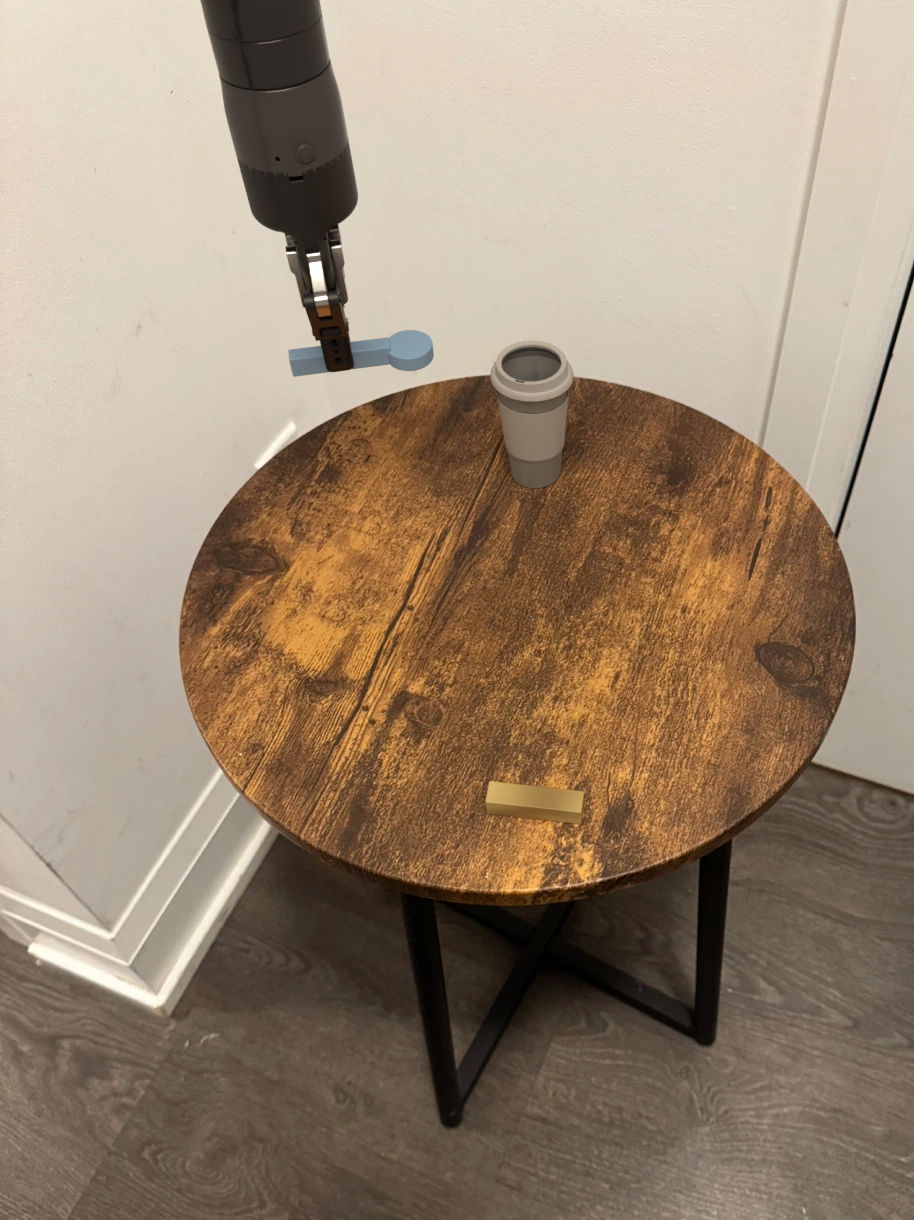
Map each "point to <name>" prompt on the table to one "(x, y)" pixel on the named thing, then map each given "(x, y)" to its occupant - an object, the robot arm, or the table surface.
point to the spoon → (371, 354)
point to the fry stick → (535, 802)
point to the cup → (533, 409)
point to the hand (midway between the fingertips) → (339, 360)
